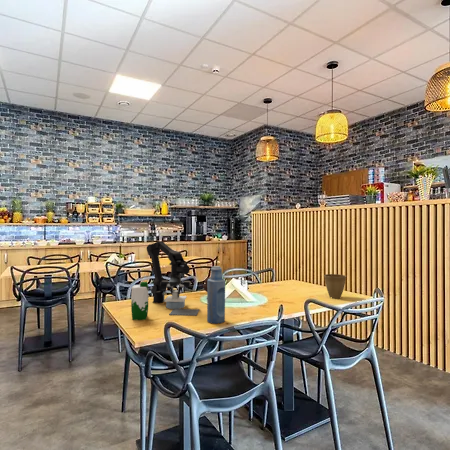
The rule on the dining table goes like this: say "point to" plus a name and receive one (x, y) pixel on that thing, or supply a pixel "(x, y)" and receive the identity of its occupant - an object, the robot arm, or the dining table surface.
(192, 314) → the mat
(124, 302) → the dining table surface
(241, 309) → the dining table surface
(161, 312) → the dining table surface
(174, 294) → the cover
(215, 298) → the bottle
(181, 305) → the dish
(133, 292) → the milk carton
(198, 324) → the dining table surface
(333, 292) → the plant pot
